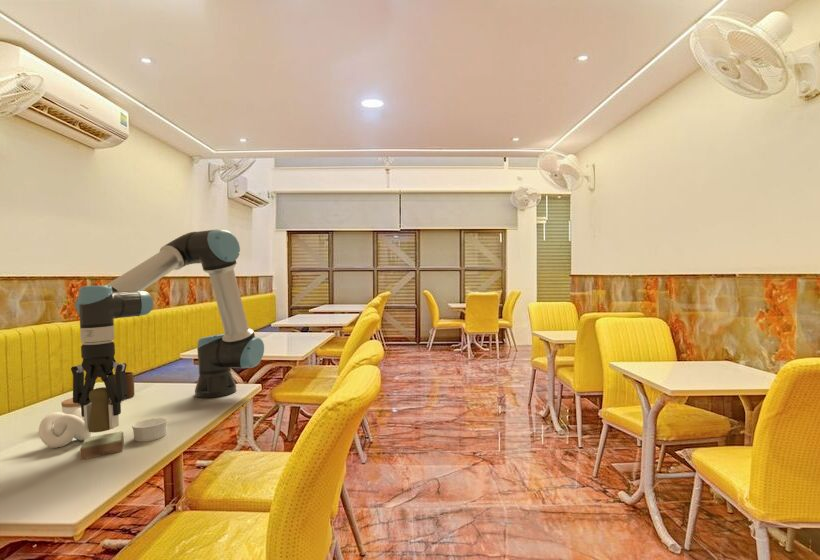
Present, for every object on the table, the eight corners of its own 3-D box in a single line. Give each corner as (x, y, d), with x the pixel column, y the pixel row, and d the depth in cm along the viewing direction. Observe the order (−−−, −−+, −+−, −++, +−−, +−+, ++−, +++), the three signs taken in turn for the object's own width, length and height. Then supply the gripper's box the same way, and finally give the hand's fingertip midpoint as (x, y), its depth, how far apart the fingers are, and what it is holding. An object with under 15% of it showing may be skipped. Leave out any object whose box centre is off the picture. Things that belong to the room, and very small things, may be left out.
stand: (123, 441, 130) (123, 430, 130) (122, 451, 122) (121, 440, 122) (85, 448, 125) (84, 437, 125) (80, 459, 117) (80, 447, 117)
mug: (133, 400, 175) (132, 376, 175) (110, 404, 172) (108, 379, 171) (135, 394, 186) (134, 371, 186) (113, 397, 182) (111, 373, 182)
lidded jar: (81, 428, 143) (80, 398, 143) (53, 427, 145) (52, 398, 145) (110, 417, 154) (109, 390, 153) (84, 417, 156) (82, 389, 156)
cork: (96, 433, 119) (94, 391, 119) (83, 430, 122) (81, 389, 122) (120, 426, 125) (118, 386, 124) (107, 423, 127) (105, 384, 127)
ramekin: (135, 435, 135) (134, 420, 135) (169, 430, 138) (168, 416, 138) (130, 445, 127) (129, 429, 127) (166, 439, 130) (165, 424, 130)
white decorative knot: (105, 436, 135) (103, 406, 135) (67, 451, 123) (65, 418, 123) (73, 434, 137) (72, 405, 137) (33, 450, 126) (31, 417, 126)
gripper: (52, 346, 119) (56, 434, 120) (124, 343, 119) (128, 431, 120) (73, 341, 127) (77, 424, 127) (141, 339, 127) (145, 421, 127)
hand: (102, 427), depth 123 cm, fingers closed on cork, 6 cm apart
